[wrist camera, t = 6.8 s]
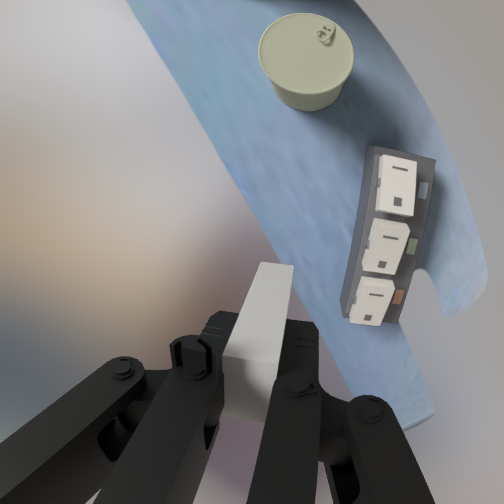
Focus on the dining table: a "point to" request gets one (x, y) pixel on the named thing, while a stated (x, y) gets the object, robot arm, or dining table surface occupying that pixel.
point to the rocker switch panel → (368, 214)
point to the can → (306, 60)
